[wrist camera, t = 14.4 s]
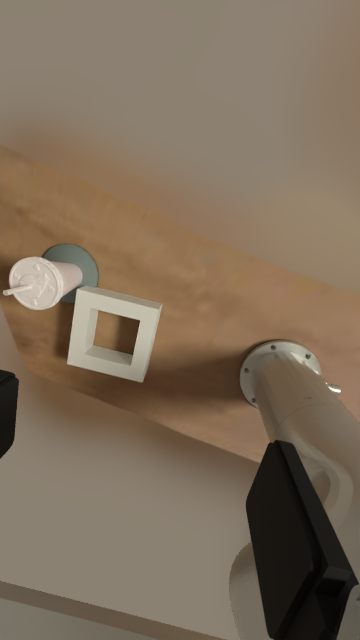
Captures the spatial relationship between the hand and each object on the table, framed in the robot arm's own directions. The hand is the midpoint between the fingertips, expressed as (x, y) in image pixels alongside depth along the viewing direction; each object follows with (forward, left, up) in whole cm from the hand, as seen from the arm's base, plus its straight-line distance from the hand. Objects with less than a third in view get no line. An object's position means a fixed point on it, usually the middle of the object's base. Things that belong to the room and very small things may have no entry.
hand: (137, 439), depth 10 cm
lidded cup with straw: (+18, +2, -33) cm, 37 cm away
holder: (+9, +9, -33) cm, 36 cm away
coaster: (+18, +2, -33) cm, 38 cm away
